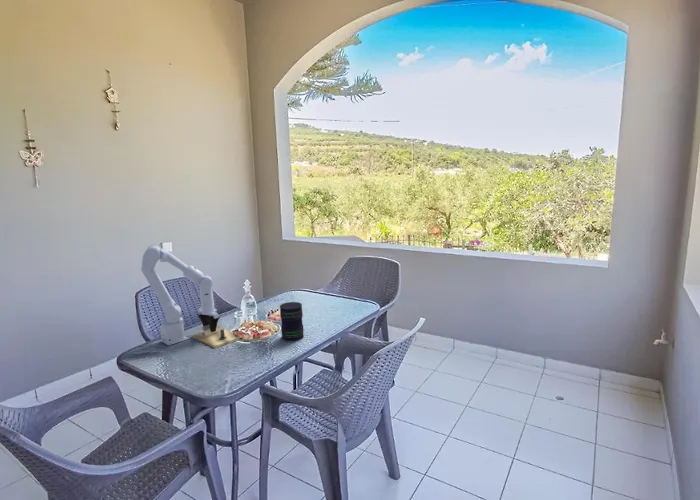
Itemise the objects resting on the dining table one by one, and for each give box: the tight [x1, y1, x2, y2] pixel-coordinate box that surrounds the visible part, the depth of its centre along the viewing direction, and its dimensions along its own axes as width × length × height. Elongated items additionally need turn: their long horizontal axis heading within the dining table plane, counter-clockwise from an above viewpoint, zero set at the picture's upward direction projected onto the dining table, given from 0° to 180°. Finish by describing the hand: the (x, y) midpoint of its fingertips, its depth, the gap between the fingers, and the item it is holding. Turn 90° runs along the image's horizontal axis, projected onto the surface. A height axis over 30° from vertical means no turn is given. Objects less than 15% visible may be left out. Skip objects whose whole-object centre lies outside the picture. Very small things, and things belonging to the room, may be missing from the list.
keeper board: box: [191, 327, 238, 349], centre depth 197 cm, size 14×20×5 cm
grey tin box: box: [198, 323, 222, 337], centre depth 201 cm, size 8×6×3 cm
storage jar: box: [279, 301, 305, 342], centre depth 194 cm, size 10×10×15 cm
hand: (210, 330), depth 201 cm, fingers closed on grey tin box, 6 cm apart
